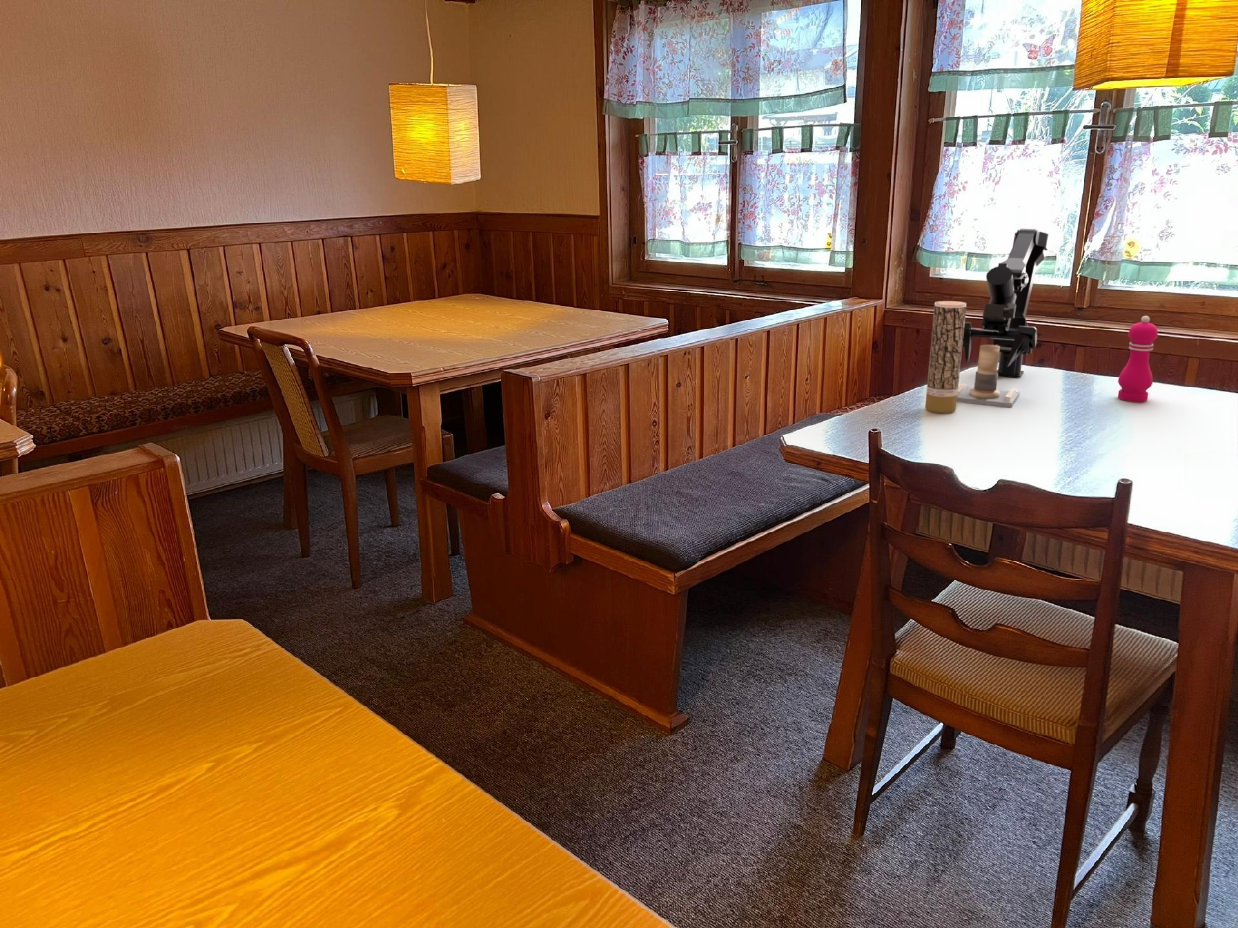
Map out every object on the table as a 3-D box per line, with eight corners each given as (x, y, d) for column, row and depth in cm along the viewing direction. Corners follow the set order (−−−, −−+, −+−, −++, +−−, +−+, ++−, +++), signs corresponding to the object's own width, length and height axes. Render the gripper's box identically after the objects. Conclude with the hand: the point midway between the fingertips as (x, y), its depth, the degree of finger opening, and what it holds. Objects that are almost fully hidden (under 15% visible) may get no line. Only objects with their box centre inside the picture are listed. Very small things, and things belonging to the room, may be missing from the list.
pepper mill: (1115, 400, 217) (1128, 317, 211) (1115, 393, 223) (1128, 312, 217) (1149, 403, 214) (1164, 319, 207) (1149, 396, 220) (1163, 314, 213)
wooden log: (959, 414, 209) (971, 305, 201) (930, 414, 209) (940, 306, 201) (950, 406, 215) (960, 300, 207) (921, 407, 215) (930, 301, 207)
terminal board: (960, 390, 230) (960, 381, 229) (1019, 396, 223) (1020, 387, 222) (949, 400, 220) (950, 392, 219) (1011, 407, 213) (1012, 398, 213)
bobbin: (982, 390, 225) (988, 342, 221) (1005, 396, 219) (1011, 347, 216) (963, 394, 222) (968, 345, 218) (986, 399, 216) (992, 349, 212)
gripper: (957, 288, 220) (943, 341, 215) (1041, 292, 211) (1028, 348, 206) (961, 315, 229) (947, 367, 224) (1041, 321, 220) (1029, 374, 215)
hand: (986, 363), depth 217 cm, fingers open, 9 cm apart
